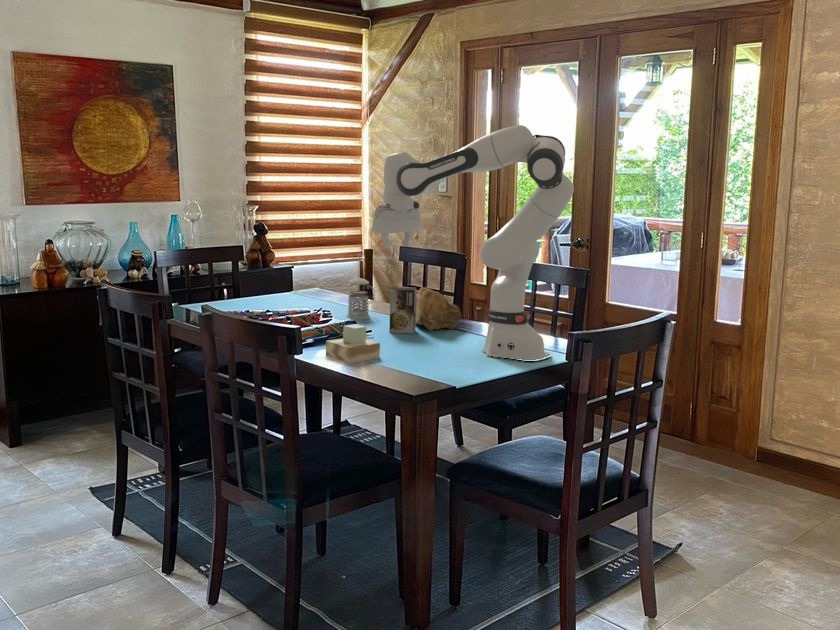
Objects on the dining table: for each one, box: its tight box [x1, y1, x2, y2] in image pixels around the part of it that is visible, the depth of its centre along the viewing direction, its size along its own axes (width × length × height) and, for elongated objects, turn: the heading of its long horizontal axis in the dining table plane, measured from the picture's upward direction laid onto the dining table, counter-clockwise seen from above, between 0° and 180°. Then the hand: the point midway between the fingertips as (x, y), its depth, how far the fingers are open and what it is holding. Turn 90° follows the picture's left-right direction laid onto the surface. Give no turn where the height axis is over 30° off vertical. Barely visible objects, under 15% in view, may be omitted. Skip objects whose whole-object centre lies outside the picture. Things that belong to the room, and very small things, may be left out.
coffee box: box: [389, 286, 417, 334], centre depth 298 cm, size 9×6×16 cm
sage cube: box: [342, 323, 367, 344], centre depth 258 cm, size 5×5×5 cm
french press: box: [345, 253, 376, 320], centre depth 323 cm, size 10×12×25 cm
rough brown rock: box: [415, 286, 462, 331], centre depth 308 cm, size 23×17×15 cm
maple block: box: [325, 337, 381, 363], centre depth 258 cm, size 12×12×5 cm
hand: (396, 246), depth 268 cm, fingers open, 8 cm apart
